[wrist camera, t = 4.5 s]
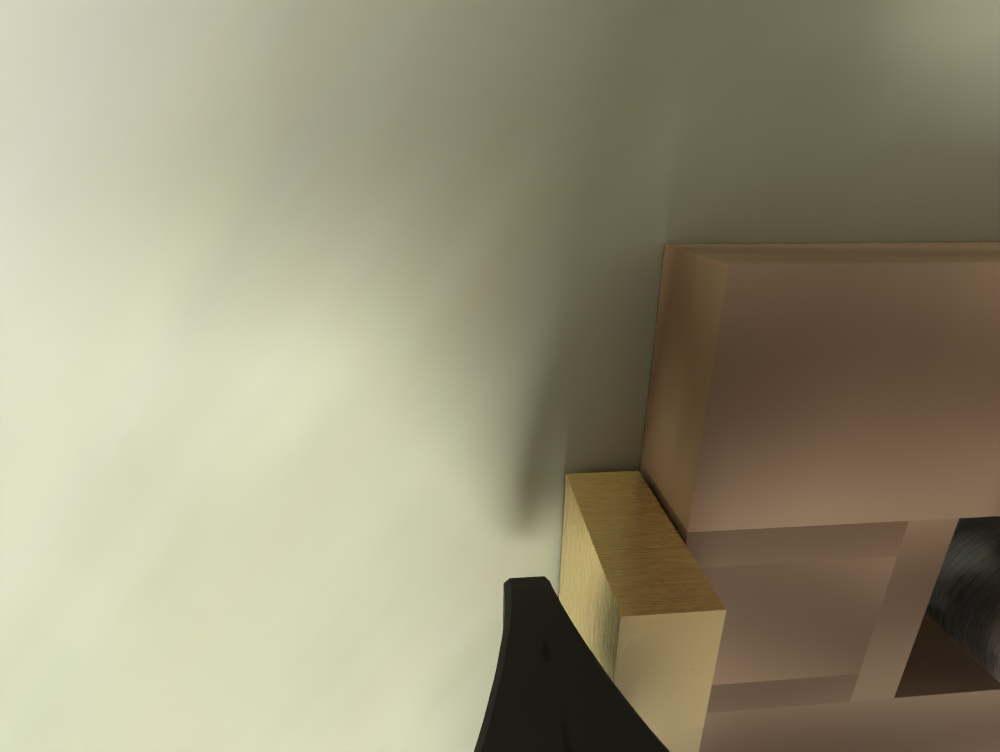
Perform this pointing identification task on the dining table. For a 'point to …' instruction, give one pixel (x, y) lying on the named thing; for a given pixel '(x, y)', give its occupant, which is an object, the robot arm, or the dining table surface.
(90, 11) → the dining table surface
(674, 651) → the light wooden block
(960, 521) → the grey stepped cylinder
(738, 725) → the socket block
